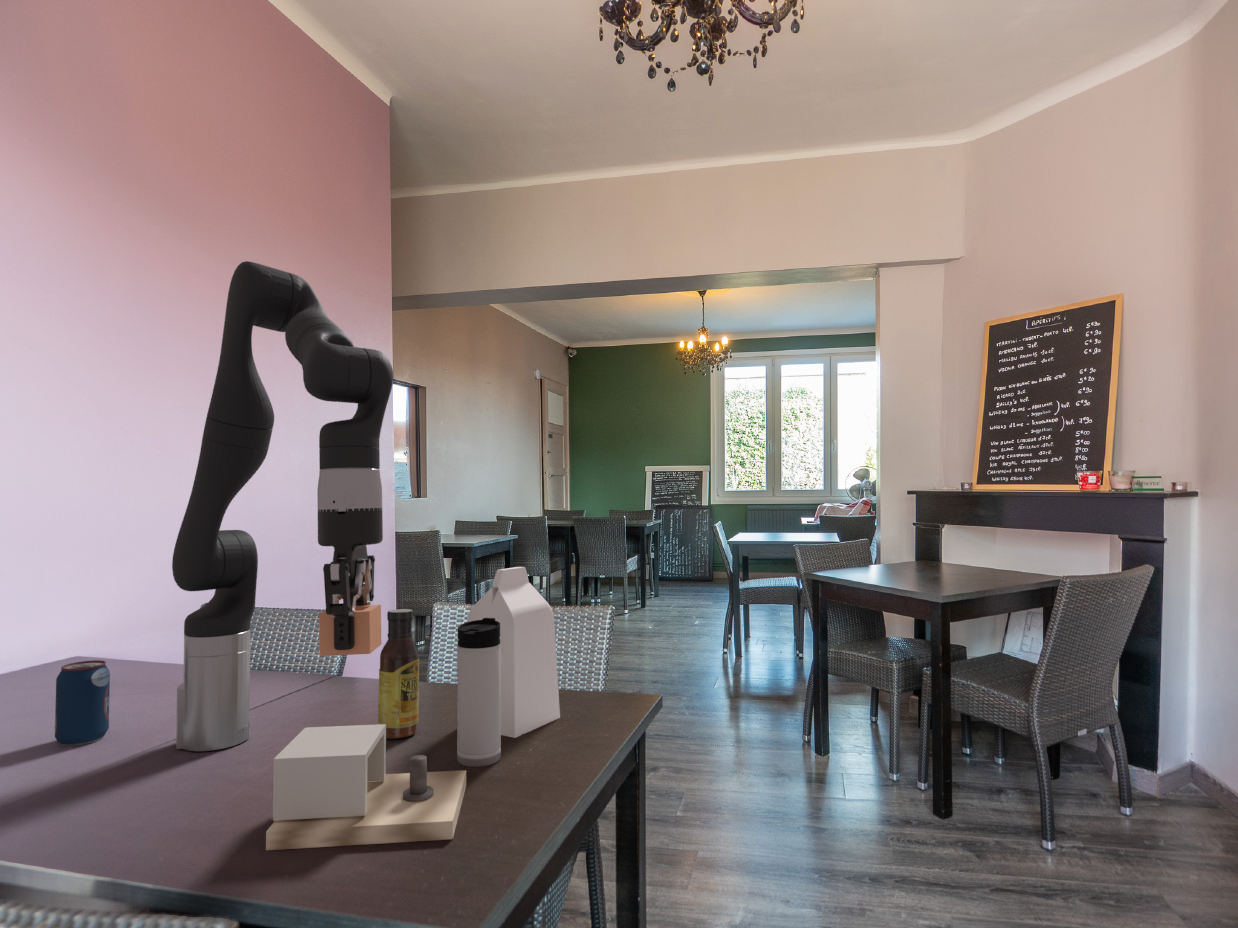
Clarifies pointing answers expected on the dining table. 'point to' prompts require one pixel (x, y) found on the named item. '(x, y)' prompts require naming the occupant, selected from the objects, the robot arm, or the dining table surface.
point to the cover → (328, 771)
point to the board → (385, 813)
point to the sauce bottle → (399, 677)
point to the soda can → (82, 703)
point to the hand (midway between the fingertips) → (351, 643)
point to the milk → (522, 651)
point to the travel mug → (479, 693)
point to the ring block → (365, 632)
